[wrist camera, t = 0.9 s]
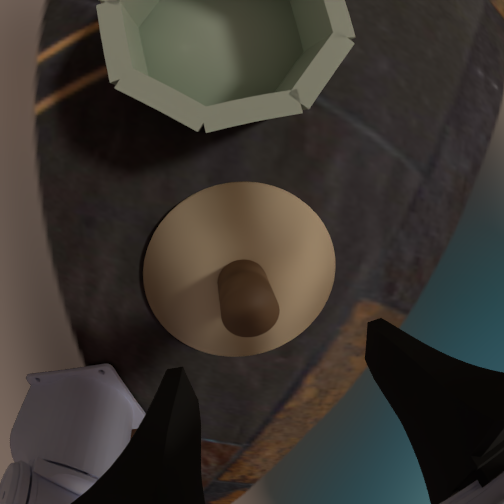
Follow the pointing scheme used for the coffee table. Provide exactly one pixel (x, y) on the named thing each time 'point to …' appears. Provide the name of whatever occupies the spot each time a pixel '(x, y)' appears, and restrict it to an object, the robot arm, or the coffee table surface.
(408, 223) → the coffee table surface
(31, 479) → the robot arm
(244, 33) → the bowl
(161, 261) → the lid
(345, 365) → the coffee table surface
